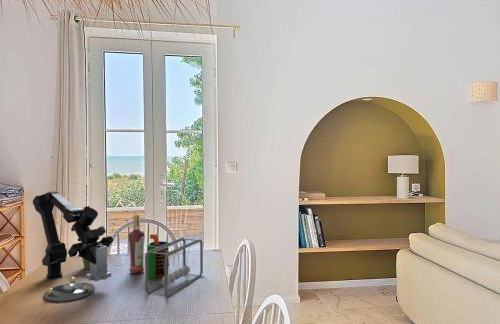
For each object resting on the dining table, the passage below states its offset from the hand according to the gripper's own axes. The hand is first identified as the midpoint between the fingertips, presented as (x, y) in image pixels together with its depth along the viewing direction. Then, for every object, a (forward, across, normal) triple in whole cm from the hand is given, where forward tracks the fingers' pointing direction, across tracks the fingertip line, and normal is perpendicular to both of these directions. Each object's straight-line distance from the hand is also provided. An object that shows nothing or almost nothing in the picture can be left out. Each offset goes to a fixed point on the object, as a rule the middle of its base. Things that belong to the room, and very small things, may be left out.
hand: (100, 262), depth 157 cm
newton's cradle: (+24, +23, -6) cm, 33 cm away
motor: (+14, +25, +4) cm, 29 cm away
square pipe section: (+4, 0, +6) cm, 7 cm away
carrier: (+2, -8, +15) cm, 17 cm away
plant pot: (-13, +18, +31) cm, 38 cm away
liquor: (+5, +24, +13) cm, 28 cm away
